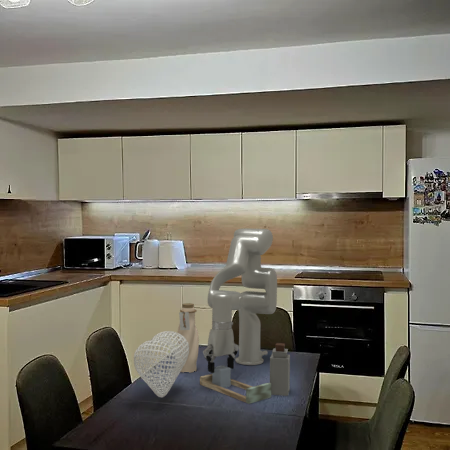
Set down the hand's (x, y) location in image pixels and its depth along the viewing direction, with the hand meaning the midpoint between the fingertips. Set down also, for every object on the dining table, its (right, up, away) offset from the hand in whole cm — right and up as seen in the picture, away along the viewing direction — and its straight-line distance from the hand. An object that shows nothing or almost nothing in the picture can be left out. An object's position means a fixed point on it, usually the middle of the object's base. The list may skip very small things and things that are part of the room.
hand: (220, 370), depth 211 cm
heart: (-21, -7, -13) cm, 26 cm away
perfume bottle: (+22, -7, -6) cm, 24 cm away
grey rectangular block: (0, -6, +1) cm, 6 cm away
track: (+5, -6, -5) cm, 10 cm away
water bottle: (-14, -6, +21) cm, 26 cm away
